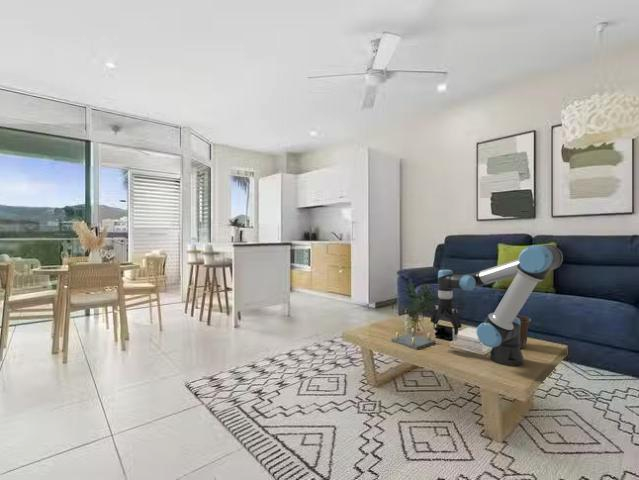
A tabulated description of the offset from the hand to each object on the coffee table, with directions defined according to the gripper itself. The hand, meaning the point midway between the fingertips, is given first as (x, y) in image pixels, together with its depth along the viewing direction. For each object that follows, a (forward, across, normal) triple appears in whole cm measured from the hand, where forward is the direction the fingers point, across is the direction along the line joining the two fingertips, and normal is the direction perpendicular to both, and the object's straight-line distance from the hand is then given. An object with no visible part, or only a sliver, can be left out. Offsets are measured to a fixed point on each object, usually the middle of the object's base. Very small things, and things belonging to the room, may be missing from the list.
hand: (445, 337), depth 184 cm
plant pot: (+8, -18, -40) cm, 45 cm away
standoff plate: (+7, +20, +3) cm, 21 cm away
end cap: (+1, 0, 0) cm, 1 cm away
